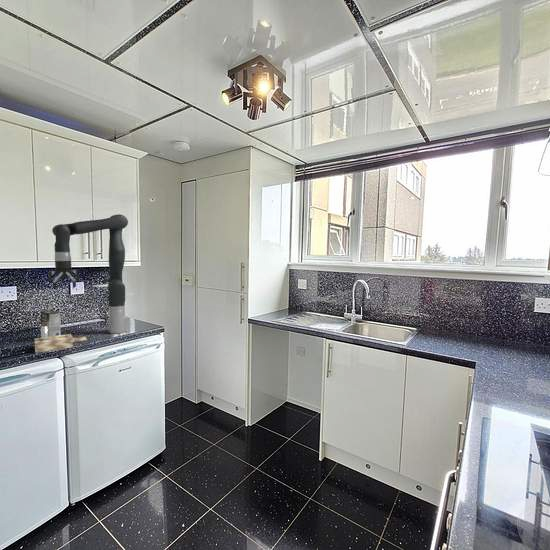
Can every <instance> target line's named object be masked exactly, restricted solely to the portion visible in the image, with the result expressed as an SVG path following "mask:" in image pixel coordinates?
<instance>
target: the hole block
mask: <svg viewBox="0 0 550 550" xmlns="http://www.w3.org/2000/svg"><path fill="white" fill-rule="evenodd" d="M73 338H74V336H73V335H72V334H71V333H67V334H61V335H59V336H51V337H48V340H44V341H41V337H37V338H34V351H35V354H36V353H37V354H38V353H42V352H43V353H44V352H47V351H49V352H50V351H56V350H63V349H69V348H74V342H73Z"/></svg>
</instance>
